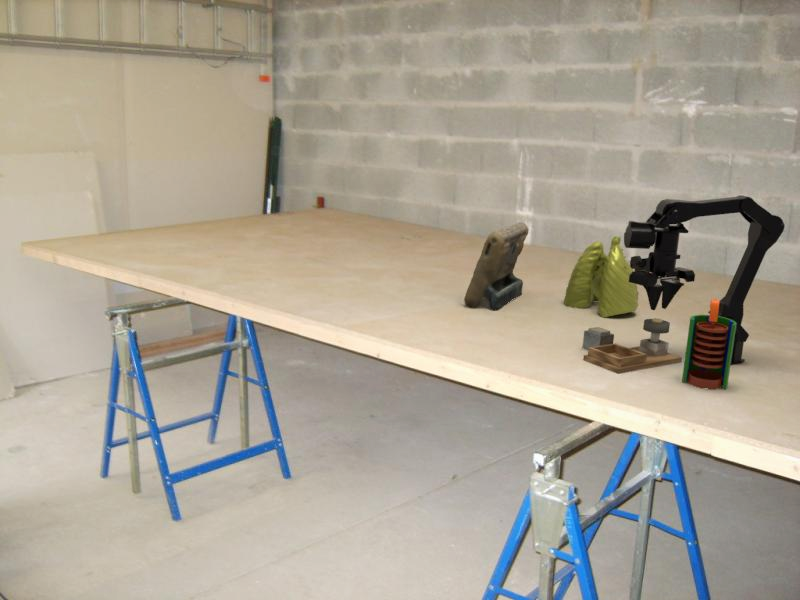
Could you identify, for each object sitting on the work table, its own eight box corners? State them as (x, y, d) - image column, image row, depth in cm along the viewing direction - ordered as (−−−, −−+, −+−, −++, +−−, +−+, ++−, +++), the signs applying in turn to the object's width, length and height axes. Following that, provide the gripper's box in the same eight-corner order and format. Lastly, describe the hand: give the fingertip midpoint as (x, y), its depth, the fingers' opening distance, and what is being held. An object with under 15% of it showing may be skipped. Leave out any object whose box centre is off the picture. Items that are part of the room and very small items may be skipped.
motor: (685, 387, 191) (696, 304, 187) (678, 375, 200) (688, 295, 195) (730, 391, 190) (742, 307, 185) (721, 379, 198) (733, 299, 194)
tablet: (486, 288, 289) (491, 218, 283) (524, 292, 284) (530, 221, 279) (462, 307, 258) (467, 229, 253) (505, 313, 254) (511, 233, 248)
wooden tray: (681, 361, 211) (683, 345, 210) (618, 373, 199) (620, 356, 198) (645, 349, 221) (647, 333, 220) (583, 359, 209) (584, 343, 208)
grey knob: (672, 343, 212) (675, 321, 210) (655, 346, 208) (658, 323, 207) (653, 337, 217) (655, 315, 216) (636, 340, 214) (639, 318, 212)
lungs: (646, 316, 259) (655, 241, 253) (612, 321, 250) (620, 243, 245) (589, 299, 279) (596, 229, 273) (555, 303, 271) (562, 231, 265)
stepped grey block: (612, 352, 217) (614, 331, 216) (598, 354, 214) (600, 333, 213) (595, 346, 222) (598, 326, 221) (582, 348, 219) (584, 327, 218)
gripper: (665, 242, 219) (658, 299, 222) (615, 246, 209) (609, 305, 213) (699, 249, 210) (692, 308, 213) (649, 253, 200) (642, 315, 203)
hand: (658, 309), depth 211 cm, fingers open, 4 cm apart
